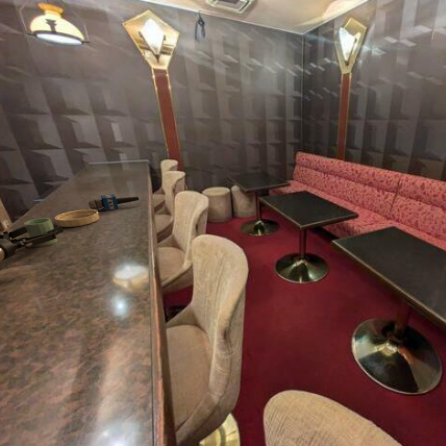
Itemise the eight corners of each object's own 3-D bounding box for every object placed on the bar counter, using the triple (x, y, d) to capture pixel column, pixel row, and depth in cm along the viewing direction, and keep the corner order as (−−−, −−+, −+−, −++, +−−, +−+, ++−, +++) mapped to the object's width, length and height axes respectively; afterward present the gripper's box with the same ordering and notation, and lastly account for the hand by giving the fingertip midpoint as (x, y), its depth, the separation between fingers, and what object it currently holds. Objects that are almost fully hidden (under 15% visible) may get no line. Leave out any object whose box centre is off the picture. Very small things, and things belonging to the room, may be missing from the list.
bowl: (53, 230, 119) (51, 222, 117) (60, 219, 132) (57, 212, 130) (98, 223, 128) (96, 216, 126) (100, 214, 141) (98, 207, 139)
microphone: (138, 193, 155) (87, 200, 139) (140, 205, 158) (91, 213, 142) (135, 191, 161) (86, 197, 145) (138, 202, 163) (90, 209, 147)
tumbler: (30, 248, 102) (21, 225, 98) (35, 241, 108) (26, 219, 104) (56, 244, 106) (48, 222, 102) (59, 237, 112) (52, 216, 108)
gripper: (-44, 262, 86) (14, 237, 105) (37, 260, 89) (78, 236, 109) (-54, 243, 83) (7, 221, 103) (29, 241, 86) (73, 220, 106)
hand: (43, 228), depth 106 cm, fingers open, 13 cm apart
